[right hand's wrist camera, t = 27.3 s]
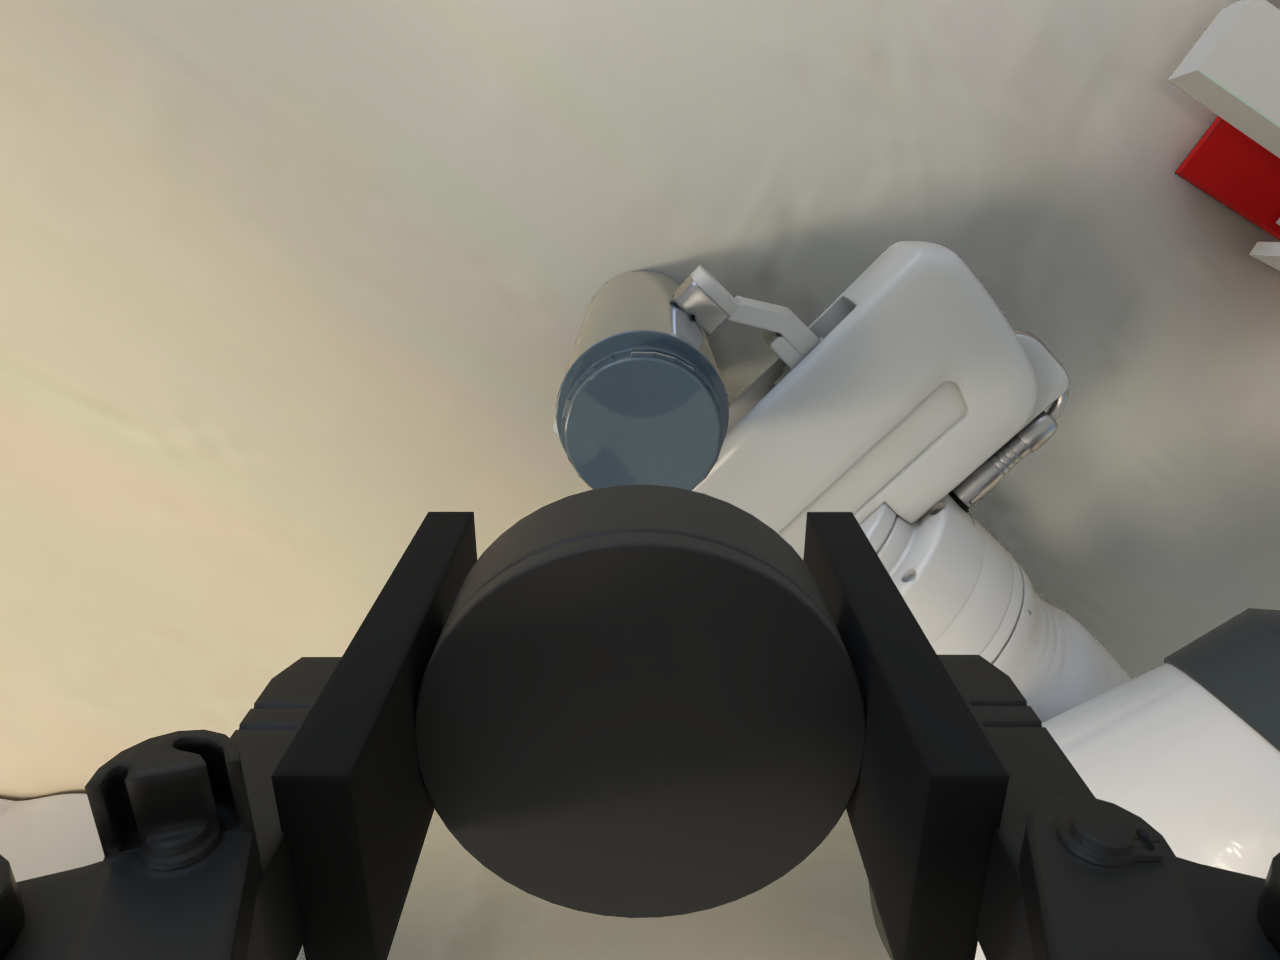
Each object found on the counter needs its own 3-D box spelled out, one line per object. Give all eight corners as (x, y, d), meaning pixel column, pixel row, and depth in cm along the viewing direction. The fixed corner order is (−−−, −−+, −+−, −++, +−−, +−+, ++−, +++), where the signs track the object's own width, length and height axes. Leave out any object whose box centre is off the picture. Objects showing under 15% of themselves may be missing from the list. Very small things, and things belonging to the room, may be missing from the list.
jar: (697, 384, 38) (731, 520, 24) (586, 384, 38) (552, 520, 24) (700, 270, 36) (739, 343, 22) (583, 270, 36) (546, 342, 22)
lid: (653, 398, 11) (656, 445, 9) (912, 672, 12) (958, 760, 11) (366, 652, 12) (318, 737, 11) (629, 873, 14) (627, 981, 12)
